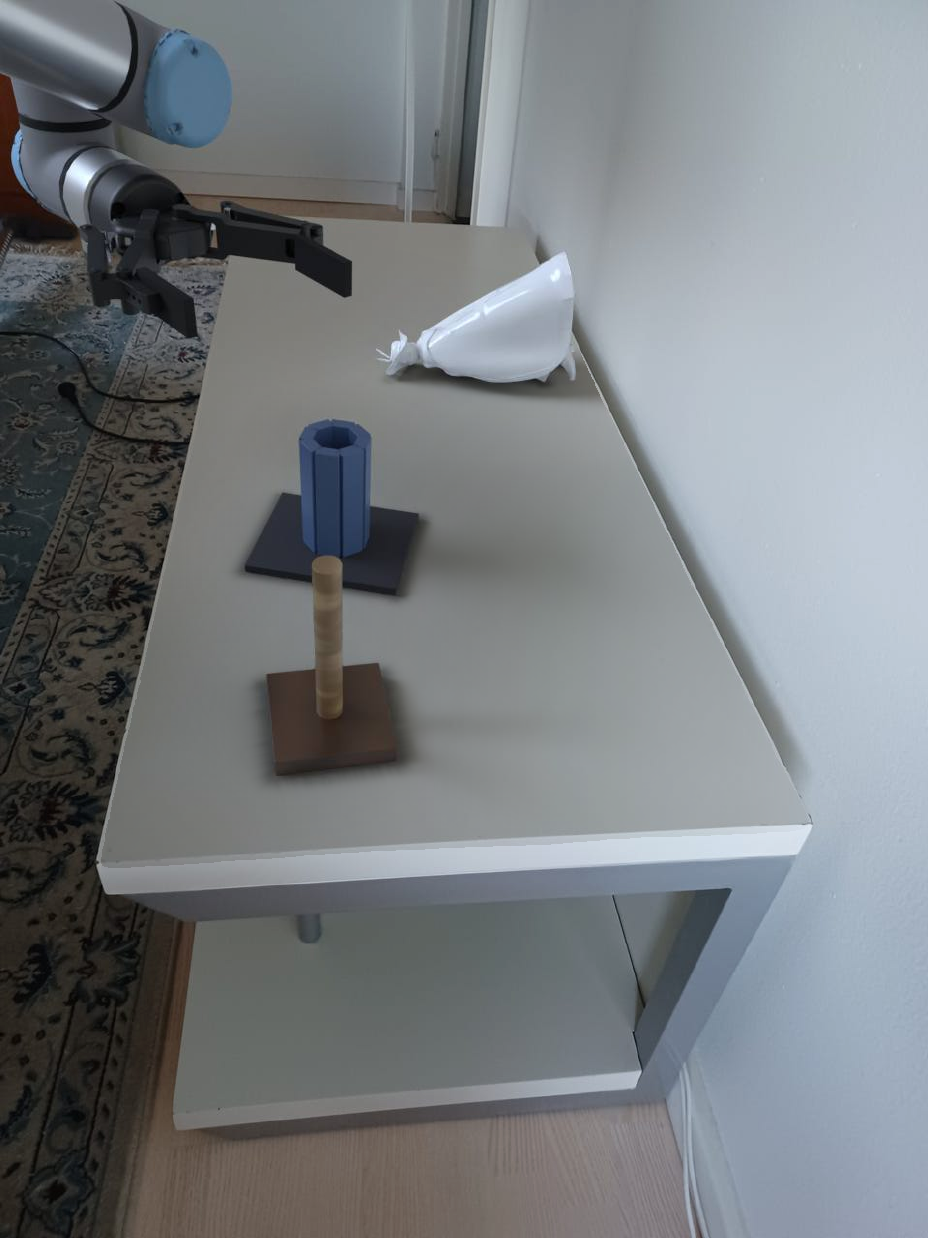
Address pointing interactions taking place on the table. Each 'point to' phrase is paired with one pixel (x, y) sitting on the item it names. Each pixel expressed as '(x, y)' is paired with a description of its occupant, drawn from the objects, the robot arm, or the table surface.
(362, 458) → the sleeve
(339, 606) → the dowel stand
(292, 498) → the mat
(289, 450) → the table surface
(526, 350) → the knotted white bag
